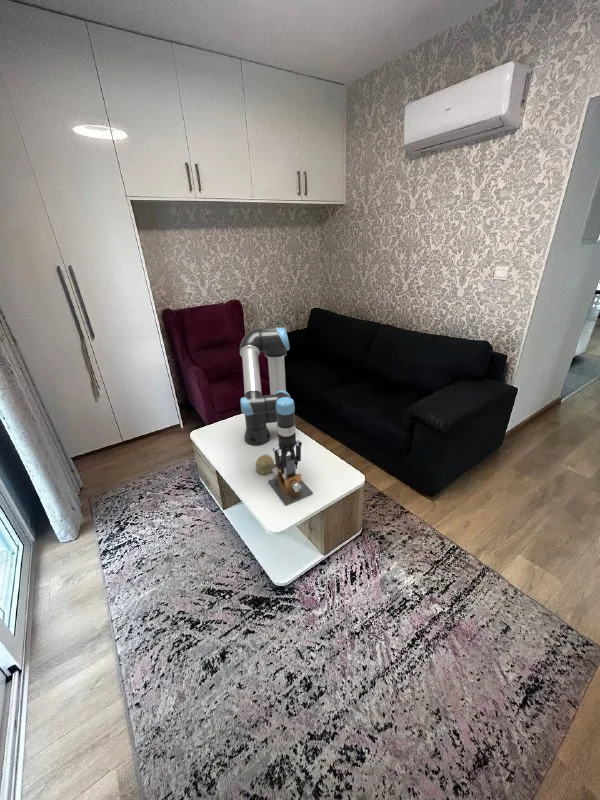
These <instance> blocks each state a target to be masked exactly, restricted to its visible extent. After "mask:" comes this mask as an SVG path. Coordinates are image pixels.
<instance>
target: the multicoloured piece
mask: <svg viewBox="0 0 600 800" xmlns="http://www.w3.org/2000/svg"><path fill="white" fill-rule="evenodd" d="M279 457H280V459H281V455H279ZM271 473H273V474H274V475H275V476H277V477H275V478H272V479H270V480H268V481H267V482H268V484H269V485H270V487H271V489H272V490H273V491H274V493H275V494H276V495H277V497H278V498H279V499H280V501H281V502H282V503H283V504H284V506H285V507H286V506H288V505H289V506H290V505H291V504H293V503H296V502H298V501H301V500H303V499H306V498H307V497H309V496H312V495H314V492H313V491H312V489H311V488H309V486H308V485H307V484H306V483H305V482H304V481H303V479H302V474H301V473H298V474H297V473H296V475H295V476H292V477H290V478H287V479H284V478H283V475H282V473H281V471H280V469H278V468H277V466H276V463H274V465H273V467H272V472H271Z"/></svg>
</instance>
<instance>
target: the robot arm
mask: <svg viewBox="0 0 600 800" xmlns="http://www.w3.org/2000/svg"><path fill="white" fill-rule="evenodd" d="M287 332H288V331H287V330H286V328H285V327H277V326H275V327H267V328H255V329H252V330H249V332H247V333H245V335H244V336H243V338H242V340H241V342H240V345H239V355H240V357H241V358H242V359H241V361H242V373H243V388H244V390H243V391H244V397H241V398H240V410H241V413H242V414H243V415H244V419H245V432H244V435H243V436H244V437H243V438H244V442H245V443H246V444H247V445H249V446H254V447H255V446H263V445H265V444H268V442H270V440H271V432H270V430H269V428H268V426H267V424H272V423H276V424H277V439H278V445H277V447H275V448H272V451H273V455H274V463H275V464H276V466H277V468H278V469H280V471H281V473H282V475H283V478H284V479H287V475H286V468H285V460H286V456H288V453H290V454H289V455H291V456H292V457H293V458H294V460H295V475H296V474H297V472H296V470H297V469H298V465H299V462H301V460H302V444H303V442H302V441H301V440H300V439H297V438H296V437H297V436H296V419H295V410H296V407H295V401H294V399H293V398H292V397H291V395H290V393H288V391H287V388H286V369H285V356H287V354H288V353H287V351H289V350H290V349H291V347H290V342H289V337H288V333H287ZM260 353H264V356H265V357H266V358H267V362H268V363H267V365H268V377H269V391H270V393H269V394H266V395H263V393H262V384H261V376H260V375H261V374H260V373H261V372H260V363H259V355H260ZM294 448H295V449H294ZM279 456H281V459H280V457H279Z"/></svg>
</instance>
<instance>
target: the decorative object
mask: <svg viewBox="0 0 600 800" xmlns="http://www.w3.org/2000/svg"><path fill="white" fill-rule="evenodd" d="M273 465H275V460H274V459H273V457H272V456H271V455H270V454H262V455H260V456H259V457H257V459H256V461H255V472H256V473H258V474H259V475H262V476H267V475H269V474H272V473H273V472H272V467H273Z"/></svg>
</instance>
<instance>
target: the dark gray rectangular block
mask: <svg viewBox="0 0 600 800" xmlns="http://www.w3.org/2000/svg"><path fill="white" fill-rule="evenodd" d="M285 468H286V475H287V478H290V477H292V476H295V460H294V458H293V457H292V456H291V454H289V455H288V454H287V455H286V460H285Z"/></svg>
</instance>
